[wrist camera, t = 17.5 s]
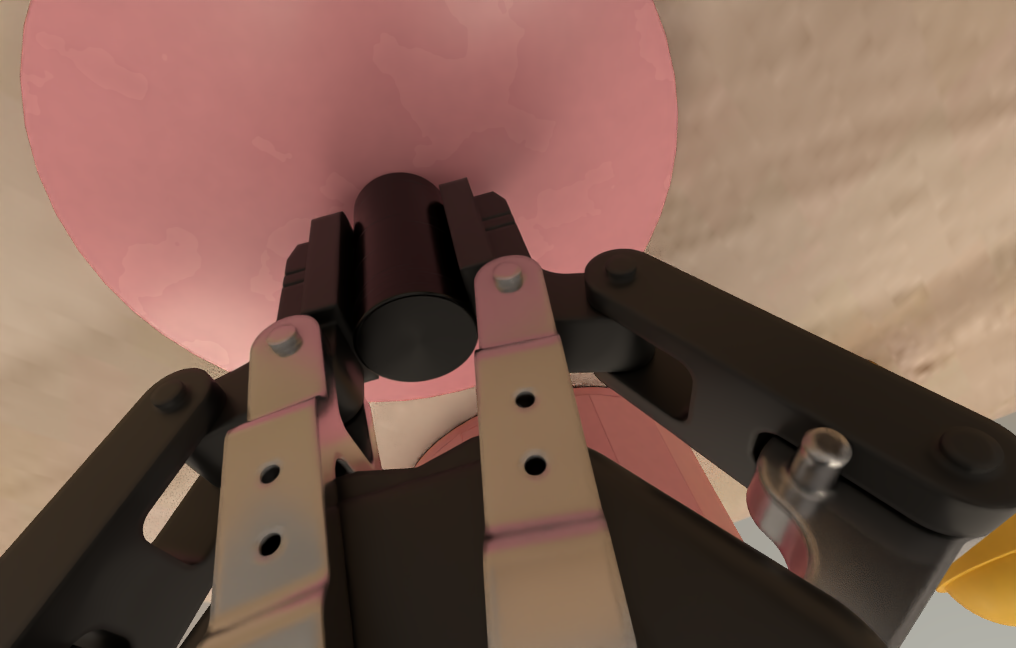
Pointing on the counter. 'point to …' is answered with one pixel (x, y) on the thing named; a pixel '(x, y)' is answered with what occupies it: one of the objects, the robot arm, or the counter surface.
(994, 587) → the yellow rounded cylinder
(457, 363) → the lid
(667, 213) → the counter surface
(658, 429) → the pot
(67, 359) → the counter surface
